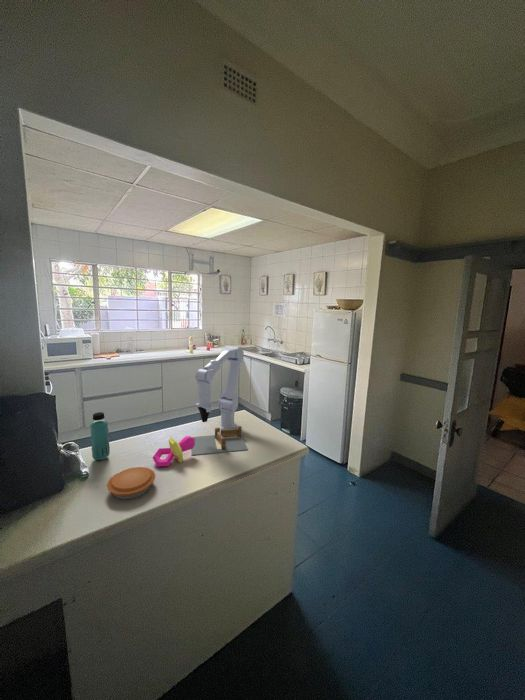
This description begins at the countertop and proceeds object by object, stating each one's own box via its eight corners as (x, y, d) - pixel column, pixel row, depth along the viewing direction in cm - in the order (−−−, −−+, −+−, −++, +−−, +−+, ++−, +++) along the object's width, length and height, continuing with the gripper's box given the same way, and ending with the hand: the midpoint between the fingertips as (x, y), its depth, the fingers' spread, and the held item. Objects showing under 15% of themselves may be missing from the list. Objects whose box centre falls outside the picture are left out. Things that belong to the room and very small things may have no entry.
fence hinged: (216, 439, 136) (216, 430, 135) (220, 438, 137) (220, 429, 136) (222, 449, 126) (222, 439, 126) (226, 448, 127) (226, 438, 127)
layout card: (191, 437, 138) (191, 436, 138) (240, 433, 144) (240, 432, 144) (191, 455, 122) (191, 454, 122) (247, 449, 128) (247, 448, 128)
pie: (163, 490, 98) (162, 477, 98) (115, 511, 88) (114, 496, 87) (146, 471, 110) (145, 459, 109) (101, 487, 99) (101, 474, 98)
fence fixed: (214, 438, 139) (214, 427, 138) (240, 435, 142) (241, 425, 141) (215, 440, 136) (215, 429, 135) (241, 437, 140) (241, 427, 139)
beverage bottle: (102, 464, 113) (99, 417, 110) (88, 462, 114) (85, 415, 111) (113, 456, 119) (111, 411, 116) (100, 454, 120) (97, 409, 117)
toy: (152, 459, 119) (147, 445, 113) (190, 438, 128) (188, 424, 122) (161, 478, 113) (157, 464, 107) (201, 454, 122) (199, 440, 116)
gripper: (192, 390, 137) (192, 417, 139) (200, 399, 124) (200, 428, 126) (206, 389, 140) (206, 415, 142) (215, 397, 127) (215, 426, 129)
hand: (204, 421), depth 134 cm, fingers closed
